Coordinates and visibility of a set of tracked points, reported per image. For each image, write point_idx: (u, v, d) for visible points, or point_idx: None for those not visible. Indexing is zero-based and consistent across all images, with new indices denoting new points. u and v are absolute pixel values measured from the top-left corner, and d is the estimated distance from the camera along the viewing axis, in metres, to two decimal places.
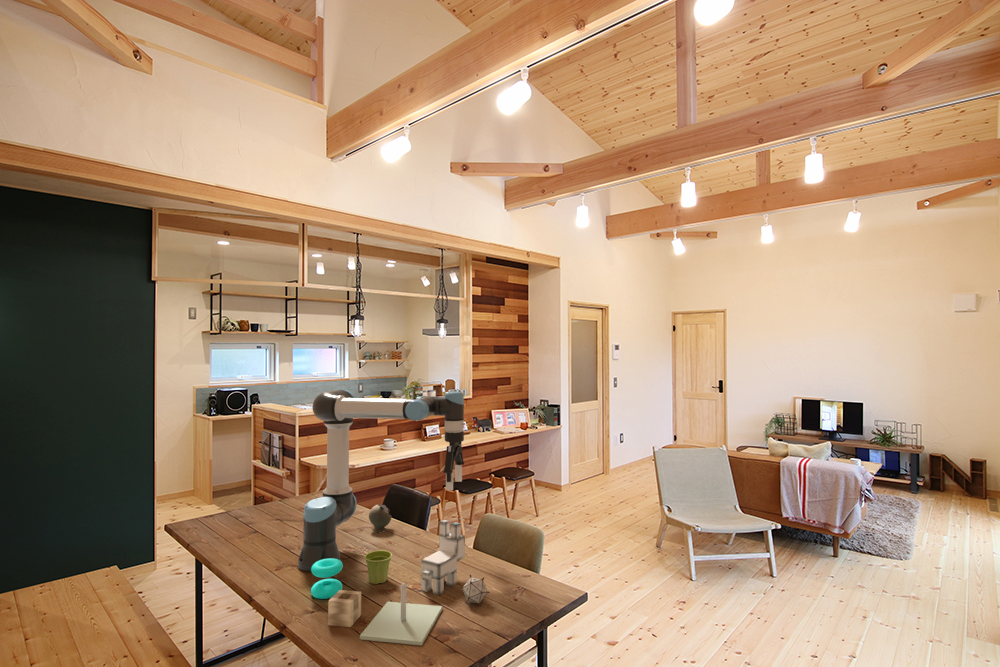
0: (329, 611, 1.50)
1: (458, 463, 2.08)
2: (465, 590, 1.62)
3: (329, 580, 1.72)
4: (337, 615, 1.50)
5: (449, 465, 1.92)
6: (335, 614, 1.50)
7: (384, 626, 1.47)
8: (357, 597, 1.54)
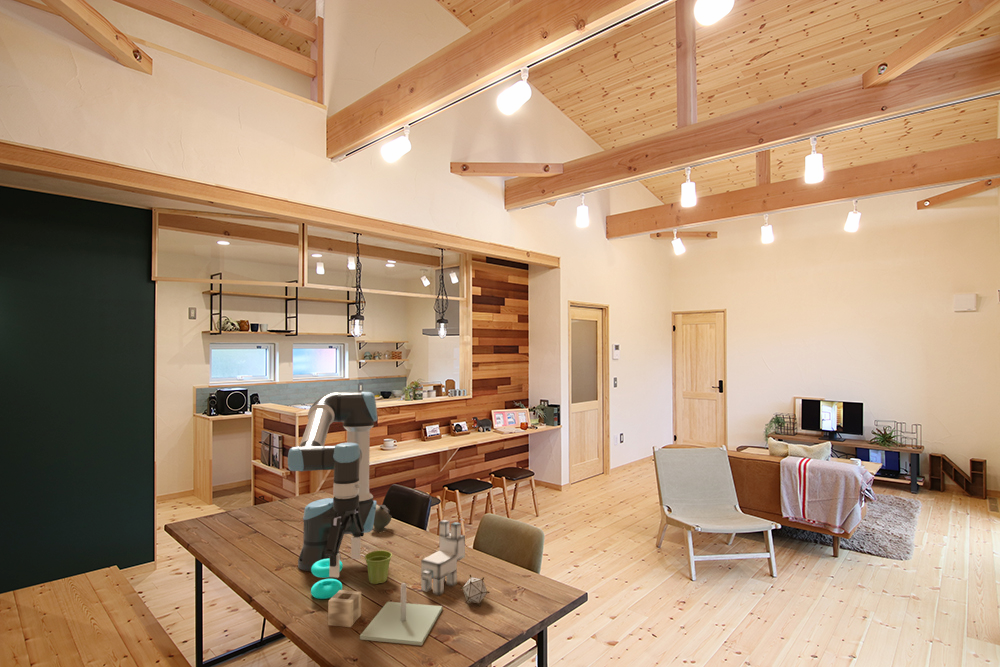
0: (329, 611, 1.50)
1: (356, 534, 1.61)
2: (465, 590, 1.62)
3: (329, 580, 1.72)
4: (337, 615, 1.50)
5: (332, 545, 1.45)
6: (335, 614, 1.50)
7: (384, 626, 1.47)
8: (357, 597, 1.54)
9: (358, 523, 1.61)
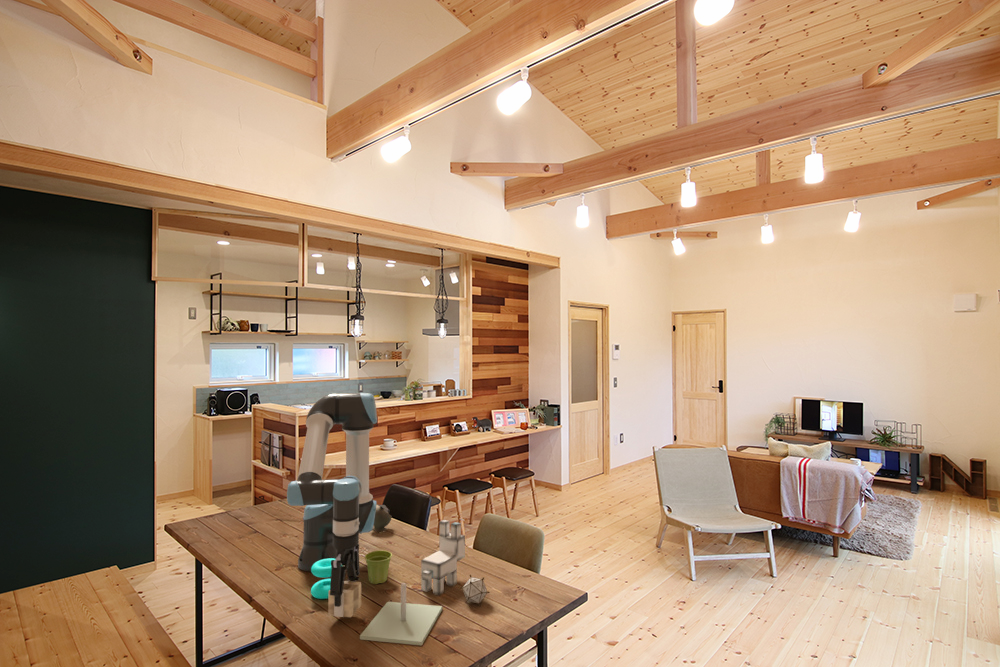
0: (329, 601, 1.51)
1: (351, 578, 1.58)
2: (465, 590, 1.62)
3: (329, 580, 1.72)
4: None
5: (336, 587, 1.47)
6: None
7: (384, 626, 1.47)
8: (357, 588, 1.54)
9: (355, 564, 1.59)
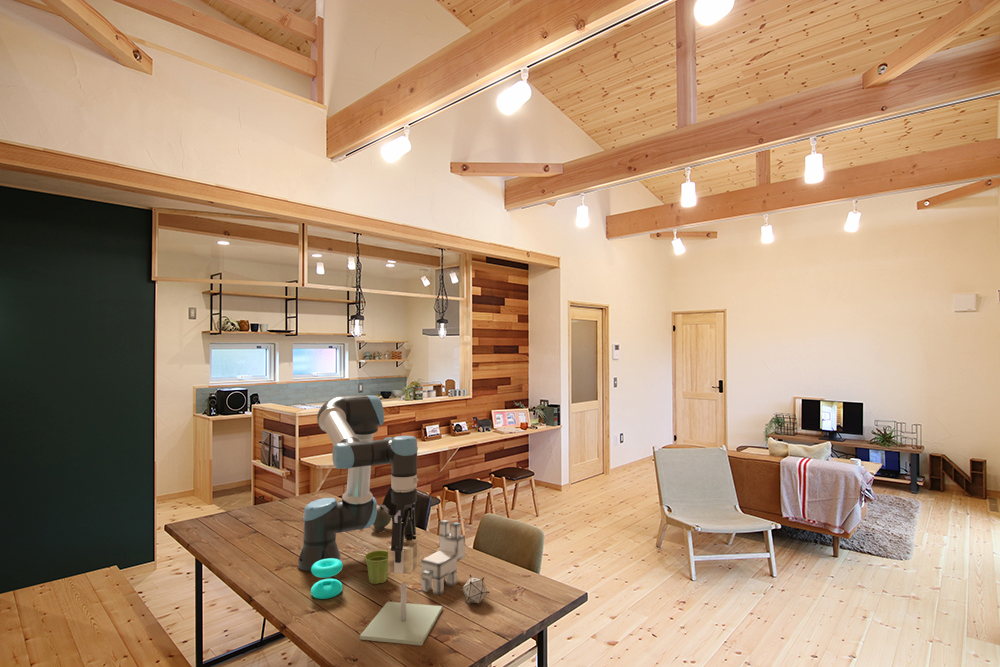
0: (389, 558, 1.49)
1: (408, 537, 1.56)
2: (465, 590, 1.62)
3: (329, 580, 1.72)
4: None
5: (397, 542, 1.45)
6: None
7: (384, 626, 1.47)
8: (416, 545, 1.52)
9: (412, 523, 1.58)
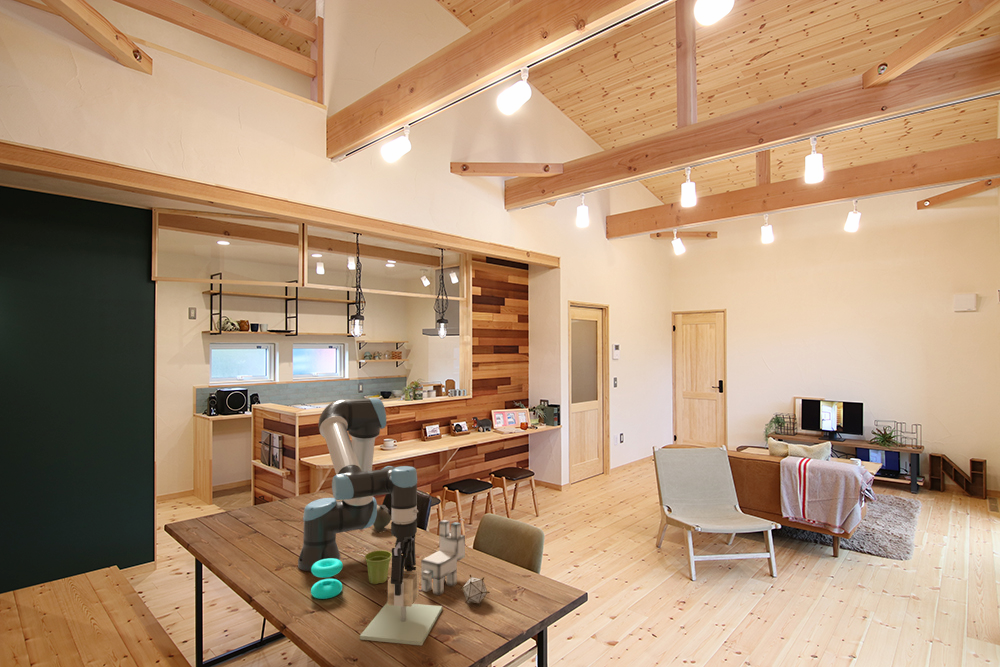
0: (389, 591, 1.48)
1: (408, 568, 1.56)
2: (465, 590, 1.62)
3: (329, 580, 1.72)
4: None
5: (397, 575, 1.45)
6: None
7: (384, 626, 1.47)
8: (416, 577, 1.52)
9: (411, 553, 1.57)
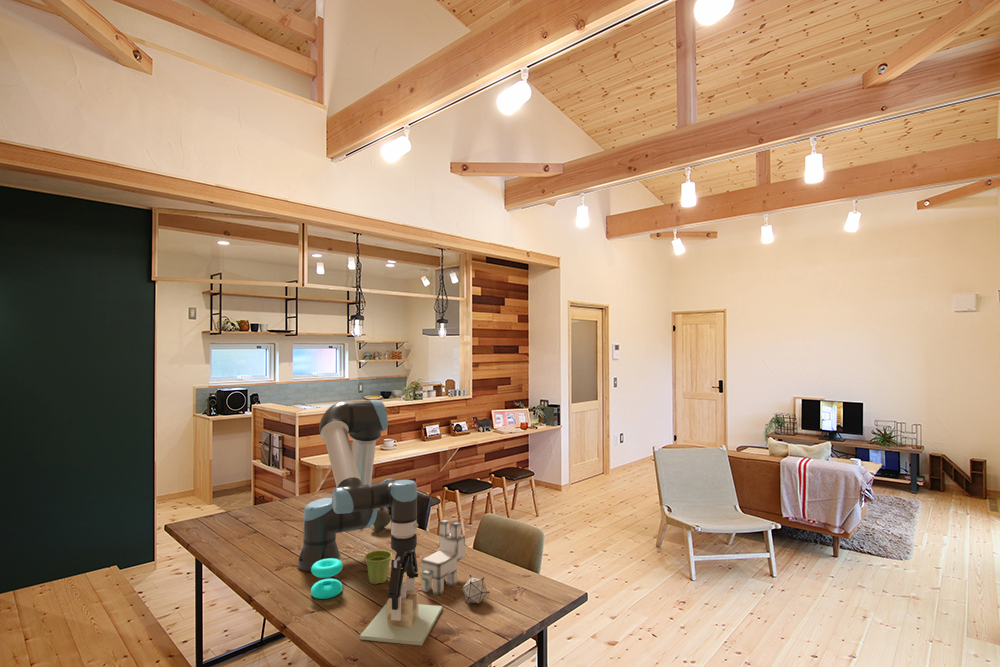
0: (388, 611, 1.48)
1: (410, 575, 1.58)
2: (465, 590, 1.62)
3: (329, 580, 1.72)
4: None
5: (394, 588, 1.43)
6: None
7: (384, 626, 1.47)
8: (415, 597, 1.52)
9: (413, 562, 1.58)
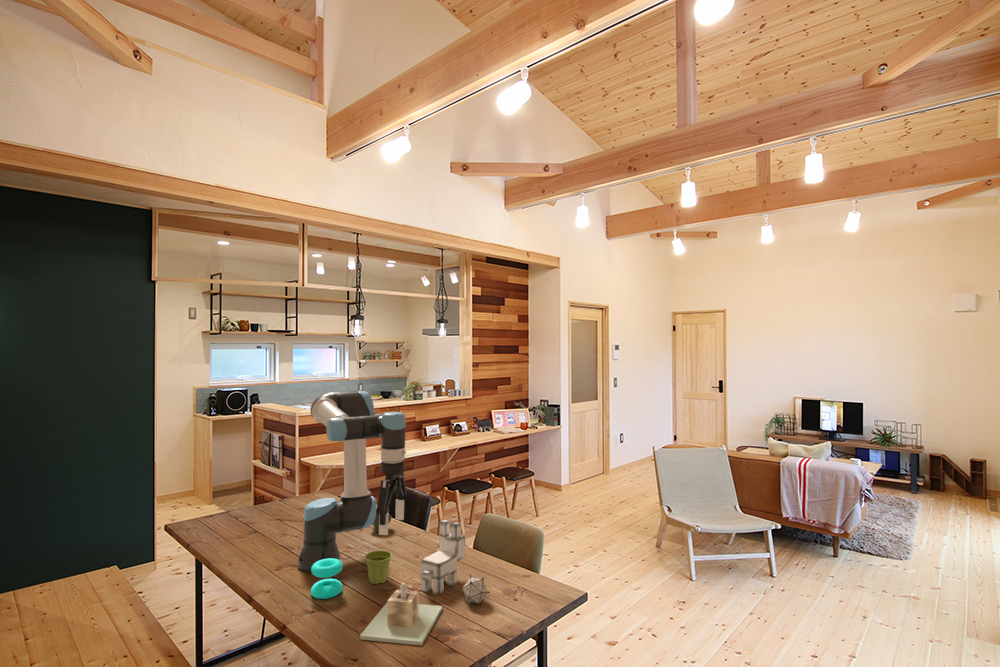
0: (388, 611, 1.48)
1: (400, 497, 1.72)
2: (465, 590, 1.62)
3: (329, 580, 1.72)
4: (397, 615, 1.48)
5: (382, 505, 1.56)
6: (394, 614, 1.48)
7: (384, 626, 1.47)
8: (415, 597, 1.52)
9: (402, 487, 1.73)
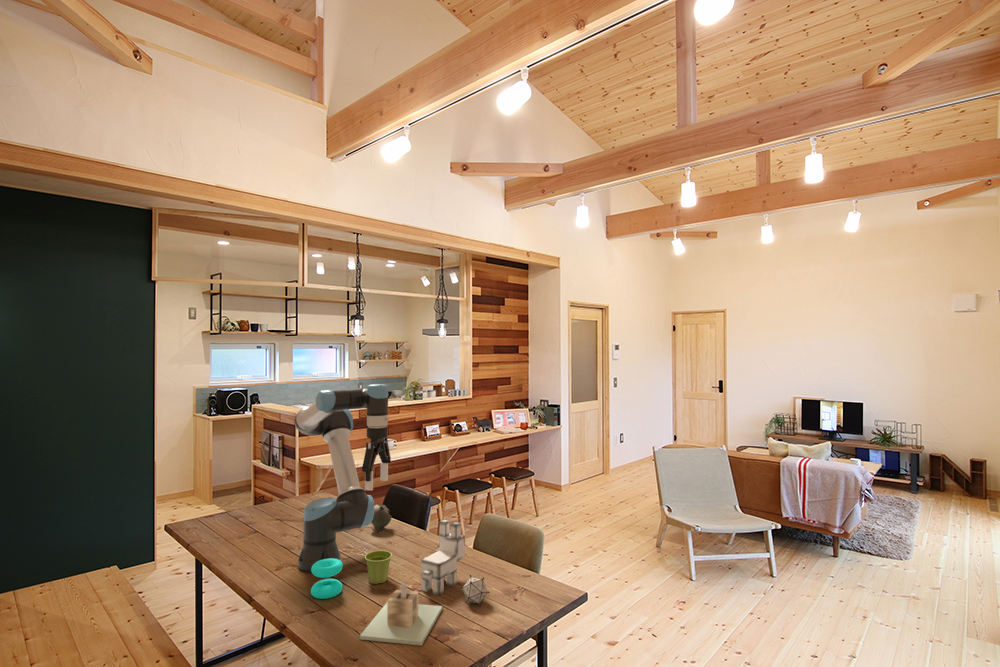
0: (388, 611, 1.48)
1: (384, 461, 1.94)
2: (465, 590, 1.62)
3: (329, 580, 1.72)
4: (397, 615, 1.48)
5: (368, 463, 1.78)
6: (394, 614, 1.48)
7: (384, 626, 1.47)
8: (415, 597, 1.52)
9: (386, 452, 1.94)
